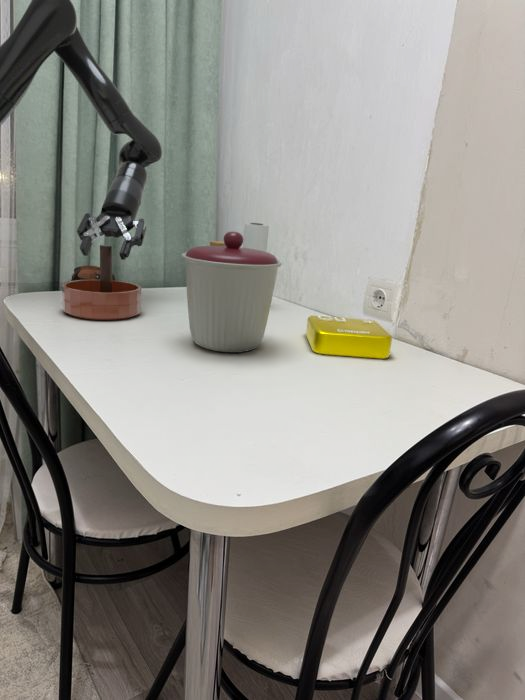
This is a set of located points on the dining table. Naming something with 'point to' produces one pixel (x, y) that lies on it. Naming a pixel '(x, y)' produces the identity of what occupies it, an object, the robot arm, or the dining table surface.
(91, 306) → the bowl
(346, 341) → the element tile
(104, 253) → the stirring stick
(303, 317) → the dining table surface
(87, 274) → the pottery mug
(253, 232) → the paper towel roll
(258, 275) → the canister
